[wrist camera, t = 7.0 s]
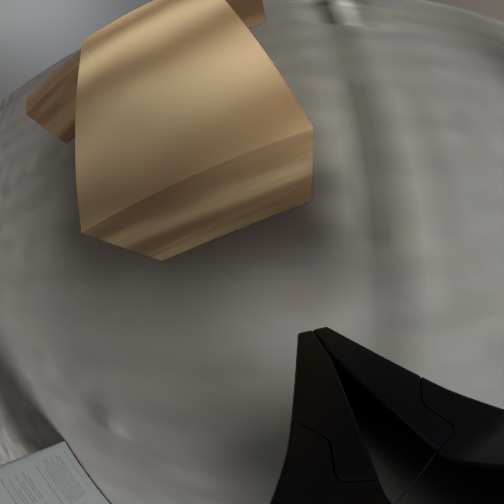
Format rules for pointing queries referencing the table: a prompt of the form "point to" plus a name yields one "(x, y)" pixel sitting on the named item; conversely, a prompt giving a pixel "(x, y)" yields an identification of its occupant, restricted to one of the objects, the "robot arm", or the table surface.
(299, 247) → the table surface
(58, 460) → the small box
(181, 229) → the oak block
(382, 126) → the table surface
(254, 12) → the walnut board
